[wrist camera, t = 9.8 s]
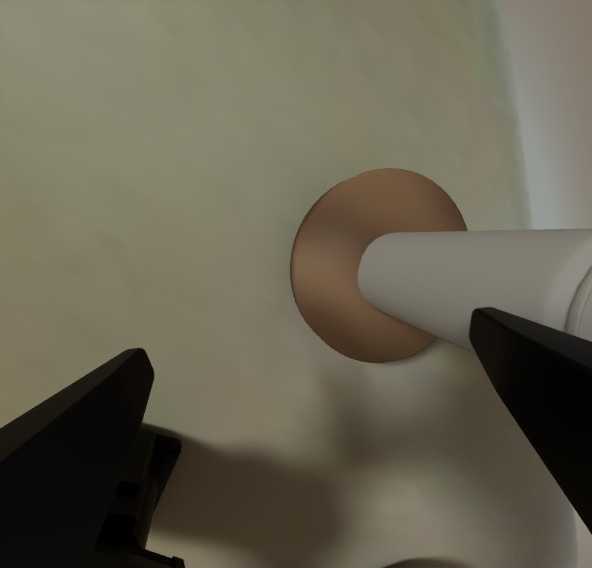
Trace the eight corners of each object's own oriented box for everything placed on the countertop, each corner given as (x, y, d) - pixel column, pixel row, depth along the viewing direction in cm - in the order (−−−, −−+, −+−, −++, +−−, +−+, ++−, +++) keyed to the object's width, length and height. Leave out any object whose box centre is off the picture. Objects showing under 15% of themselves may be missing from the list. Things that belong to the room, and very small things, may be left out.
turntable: (409, 376, 23) (422, 386, 21) (258, 317, 19) (262, 323, 18) (480, 225, 22) (499, 224, 21) (340, 136, 19) (351, 128, 17)
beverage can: (435, 268, 20) (728, 312, 9) (387, 325, 20) (624, 447, 8) (389, 215, 19) (665, 183, 7) (337, 275, 19) (537, 339, 7)
